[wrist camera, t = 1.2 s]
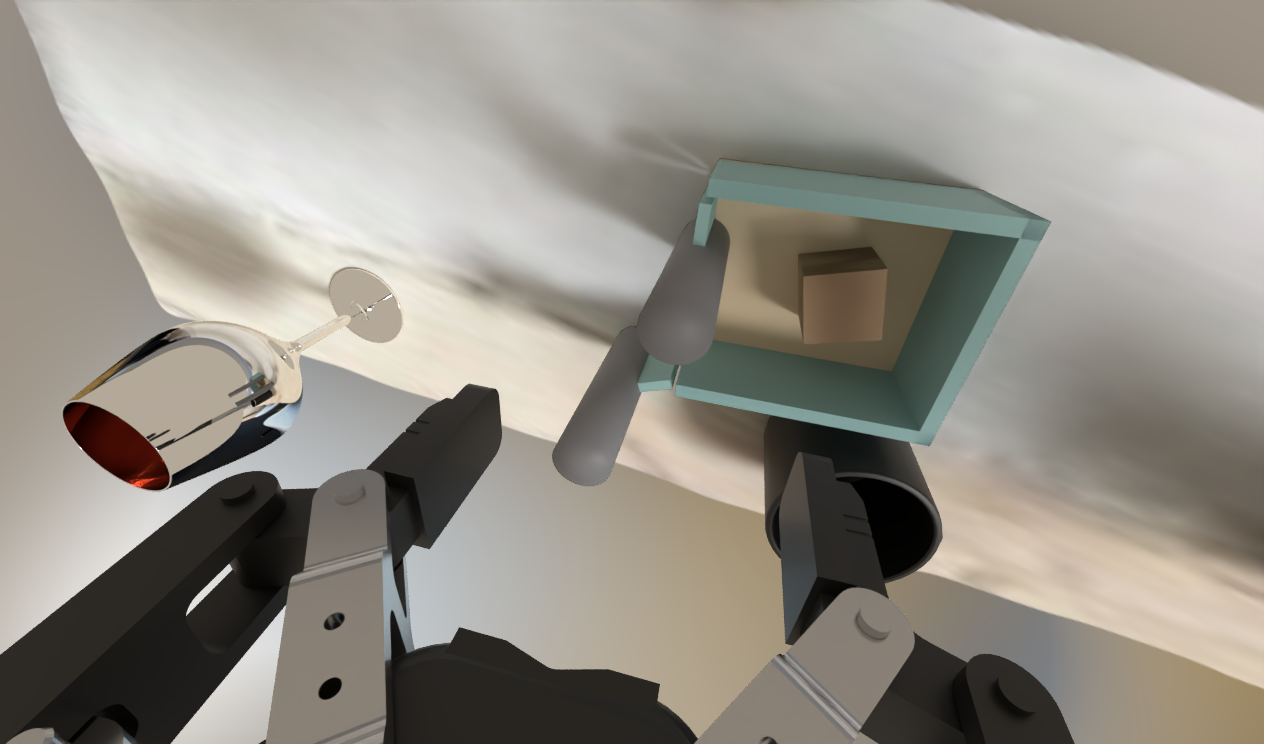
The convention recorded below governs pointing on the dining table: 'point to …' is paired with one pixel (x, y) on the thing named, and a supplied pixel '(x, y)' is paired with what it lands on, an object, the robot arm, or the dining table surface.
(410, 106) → the dining table surface
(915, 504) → the mug
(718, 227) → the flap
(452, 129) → the dining table surface
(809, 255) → the walnut block
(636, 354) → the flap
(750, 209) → the teal open box
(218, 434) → the wineglass
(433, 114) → the dining table surface
